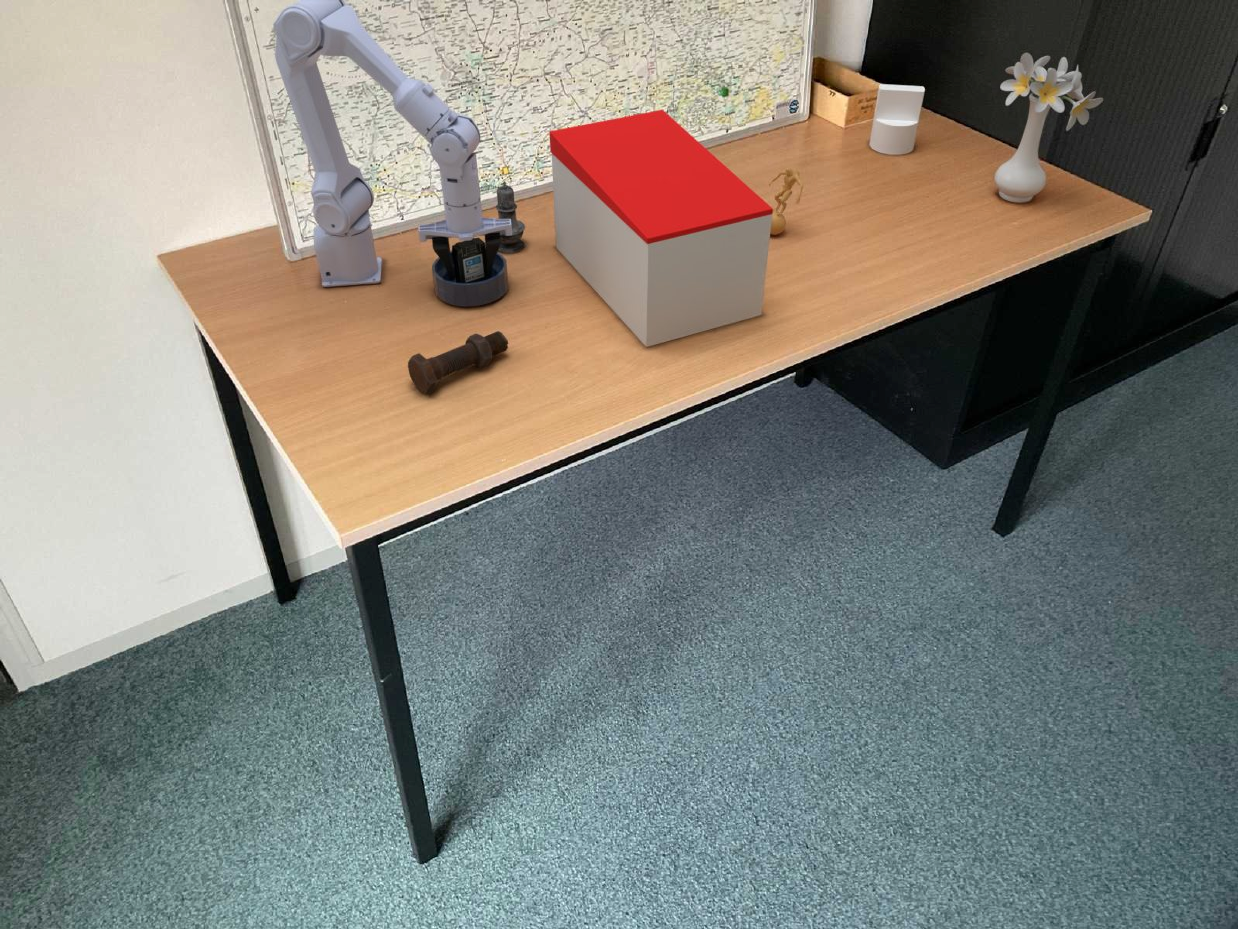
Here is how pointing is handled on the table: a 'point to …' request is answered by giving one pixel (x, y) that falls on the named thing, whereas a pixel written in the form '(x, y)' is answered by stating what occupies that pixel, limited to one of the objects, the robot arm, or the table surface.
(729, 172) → the red-topped grey box
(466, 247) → the ink cartridge
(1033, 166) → the flower vase
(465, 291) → the bowl
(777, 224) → the figurine
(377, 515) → the table surface
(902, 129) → the base with upright slab
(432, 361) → the bolt
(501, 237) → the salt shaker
